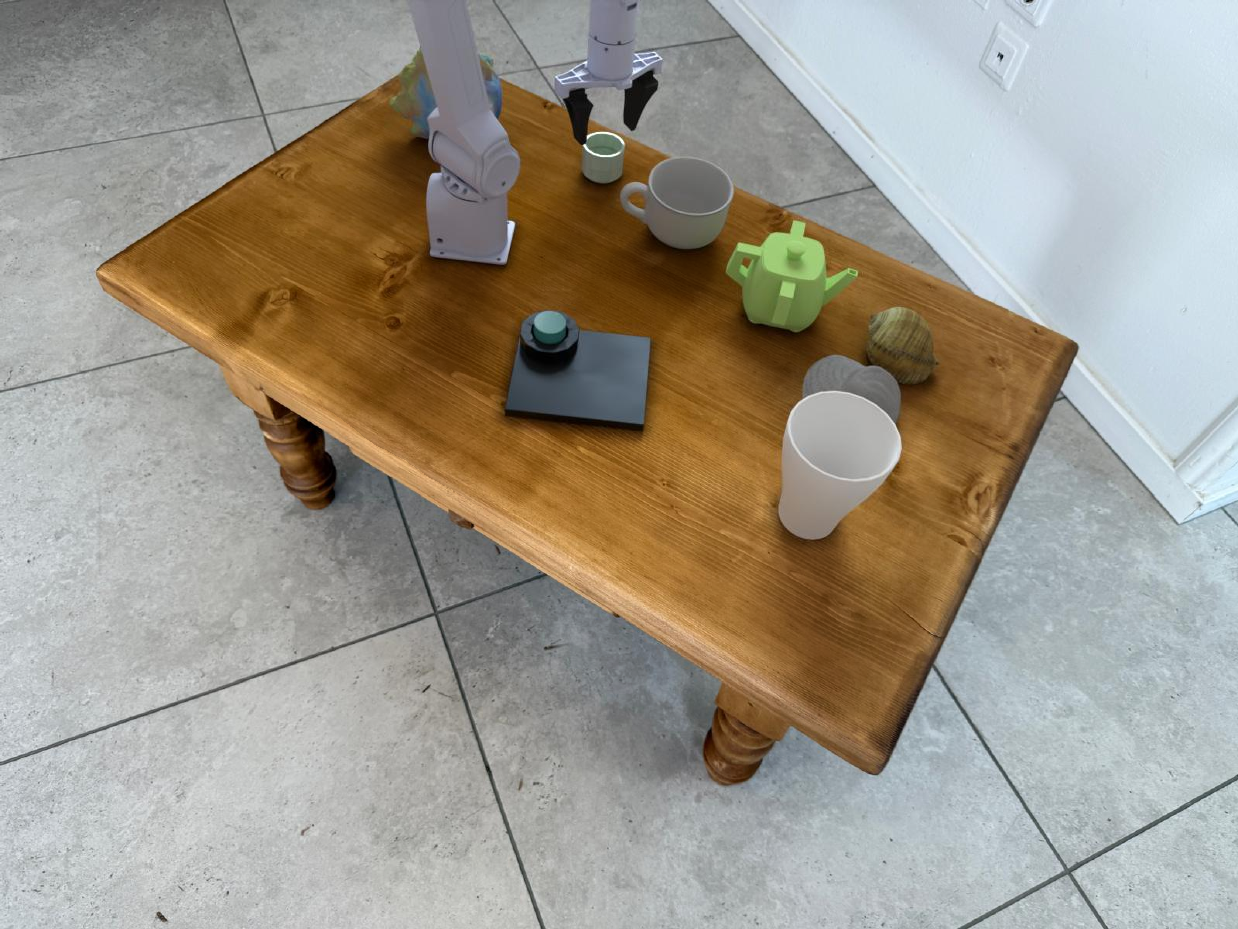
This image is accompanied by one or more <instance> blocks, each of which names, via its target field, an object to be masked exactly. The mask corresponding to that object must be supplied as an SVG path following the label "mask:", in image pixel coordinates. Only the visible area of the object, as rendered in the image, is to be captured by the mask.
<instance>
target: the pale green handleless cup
mask: <svg viewBox="0 0 1238 929" xmlns="http://www.w3.org/2000/svg"><path fill="white" fill-rule="evenodd" d="M625 150H626V143H625V142H624V140H623V138H621V137H620V136H619V135H617V134H615V133H612V132H608V131H596V132H592V133H590V134H587V141H586V144H585V145H582V151H581V152H582V154H581V172H582V174H583V176H585V177H586V178H587V179H589V180H590V181H592V182H594V183H596V184H609V183H613V182H614V181H617V180H618V179H620V178H621V177H622V176H623V170H624V161H625Z"/></svg>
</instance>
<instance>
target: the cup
mask: <svg viewBox="0 0 1238 929" xmlns="http://www.w3.org/2000/svg"><path fill="white" fill-rule="evenodd" d="M782 437H783V438H782V450H781V480H782V482H781V494H780V499H779V503H778V517H779V520H780V522H781V523H782V525H783V527H784V528H785V529H786V530H787V531H789V533H790V534H793V535H794V536H796V537H798V538H801V539H804V540H812V541H813V540H820V539H823V538H825V537H827V536H829V535H830V534H831V533H832V532H833V531H834V530H835V528H836V527H837V526H838V524H839V523H840V522H841V520H843V519H844V518H845V517H846V516H847V515H849V513H850V512H852V511H853V510H854V509H855V508H856V507H858V506H859V505H860V504H862V503H864V502H865V501H866V500H867V499H868V498H869V497H870V496H871V495H873V494H874V493H875V491H876V490H878V489H879V488H880V487H881V486H882V485H883V483H884V482H885V481H886V479H887V478H888V476H890V474H891V472H892V471H893V470H894V468H895V467H896V465H898V462H899V461H900V457H901V454H902V449H903V447H902V437H901V434H900V432H899V430H898V427H897V424H896V425H895V423H894V422H893V421H892V420H891V418H890V417H889V416H888V414H887V413H886V412H884V411H883V410H882V409H881V408H880V407H878V406H877V405H876V404H874V403H872V402H871V401H869V400H867V399H865V398H863V397H861V396H857V395H854V394H851V393H847V392H840V391H826V392H819V393H816V394H813V395H809V396H807V397H806V398H804V399H801V400H799V401H798V402H797V403H796V404H795V405H794V407H793V408H792V409H791V410H790V413H789V416H788V419H787V422H786V425H785V429H784V434H783V436H782Z"/></svg>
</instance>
